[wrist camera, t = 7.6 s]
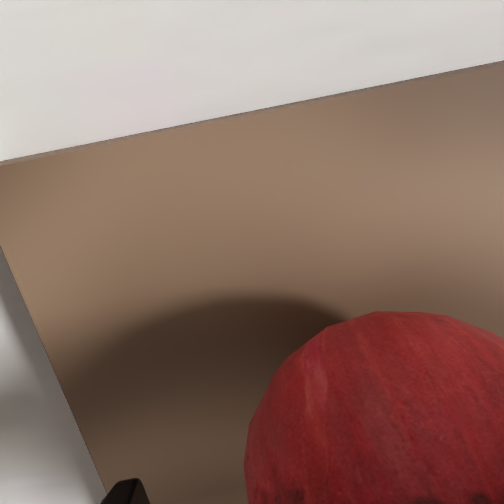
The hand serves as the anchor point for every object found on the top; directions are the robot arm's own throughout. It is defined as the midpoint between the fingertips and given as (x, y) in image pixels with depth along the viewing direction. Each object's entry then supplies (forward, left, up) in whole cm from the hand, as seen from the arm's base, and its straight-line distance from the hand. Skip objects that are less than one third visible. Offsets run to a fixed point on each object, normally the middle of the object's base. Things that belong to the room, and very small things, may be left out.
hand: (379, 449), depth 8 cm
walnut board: (0, 0, -5) cm, 5 cm away
